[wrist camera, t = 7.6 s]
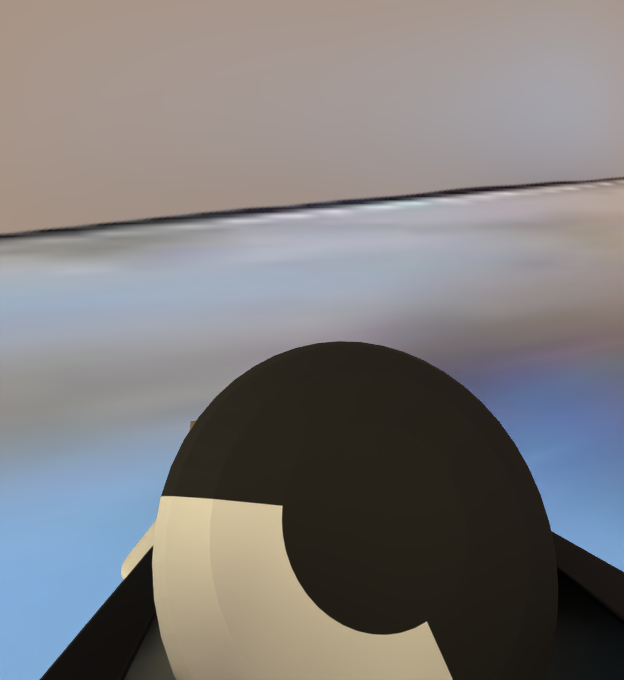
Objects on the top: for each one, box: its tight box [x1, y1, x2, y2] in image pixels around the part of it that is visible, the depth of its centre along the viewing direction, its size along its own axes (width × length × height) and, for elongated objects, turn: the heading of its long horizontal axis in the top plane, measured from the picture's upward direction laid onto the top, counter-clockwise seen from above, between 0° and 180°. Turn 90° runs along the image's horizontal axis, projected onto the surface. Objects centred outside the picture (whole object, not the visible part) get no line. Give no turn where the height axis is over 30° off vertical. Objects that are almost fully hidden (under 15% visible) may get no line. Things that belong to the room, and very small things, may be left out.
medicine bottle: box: [121, 341, 558, 680], centre depth 10 cm, size 7×7×12 cm
